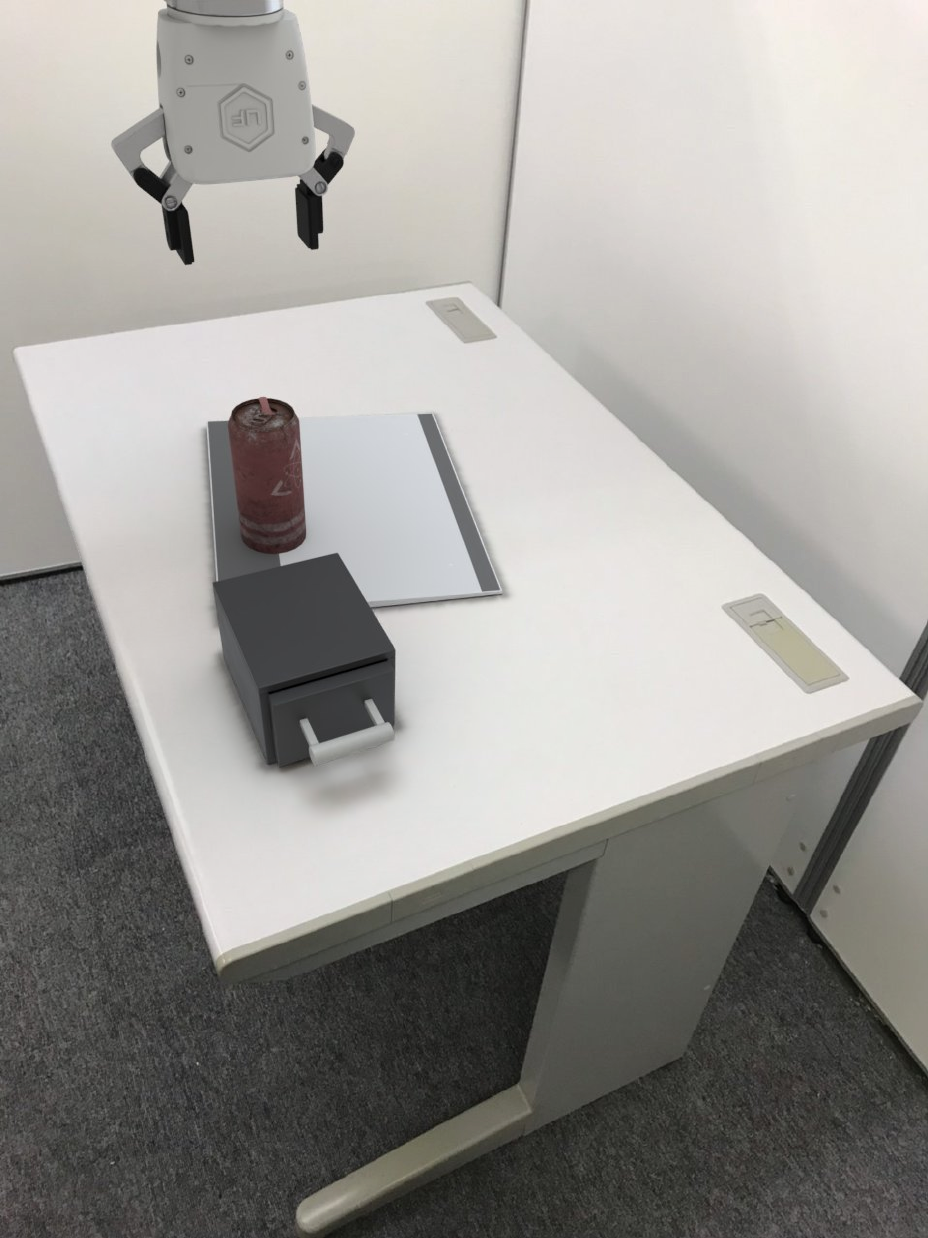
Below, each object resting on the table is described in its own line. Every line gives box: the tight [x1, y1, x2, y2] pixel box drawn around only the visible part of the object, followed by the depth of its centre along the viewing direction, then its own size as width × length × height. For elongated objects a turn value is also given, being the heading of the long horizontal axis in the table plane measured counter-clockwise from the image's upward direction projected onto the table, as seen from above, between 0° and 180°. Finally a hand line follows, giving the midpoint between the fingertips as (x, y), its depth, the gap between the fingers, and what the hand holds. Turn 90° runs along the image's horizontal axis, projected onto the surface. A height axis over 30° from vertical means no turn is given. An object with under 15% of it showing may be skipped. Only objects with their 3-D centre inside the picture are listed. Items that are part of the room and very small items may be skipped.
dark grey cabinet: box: [211, 553, 397, 765], centre depth 76 cm, size 12×10×8 cm
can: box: [228, 396, 306, 554], centre depth 88 cm, size 6×6×14 cm
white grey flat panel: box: [205, 412, 503, 608], centre depth 98 cm, size 32×26×1 cm
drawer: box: [268, 661, 395, 767], centre depth 74 cm, size 15×9×7 cm, turn 26°
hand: (248, 250), depth 74 cm, fingers open, 9 cm apart
